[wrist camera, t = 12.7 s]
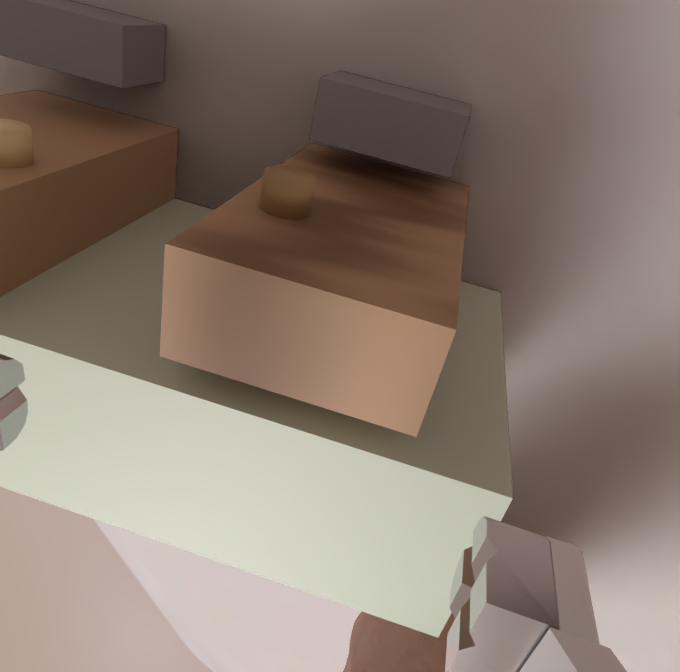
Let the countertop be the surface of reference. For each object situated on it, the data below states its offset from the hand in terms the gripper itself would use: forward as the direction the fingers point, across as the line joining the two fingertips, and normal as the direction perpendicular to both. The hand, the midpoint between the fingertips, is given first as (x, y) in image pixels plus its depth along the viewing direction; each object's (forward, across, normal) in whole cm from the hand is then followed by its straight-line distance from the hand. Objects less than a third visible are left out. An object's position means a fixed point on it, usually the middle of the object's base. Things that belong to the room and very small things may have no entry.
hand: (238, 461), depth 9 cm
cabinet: (+16, -6, -2) cm, 17 cm away
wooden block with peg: (+16, 0, 0) cm, 16 cm away
